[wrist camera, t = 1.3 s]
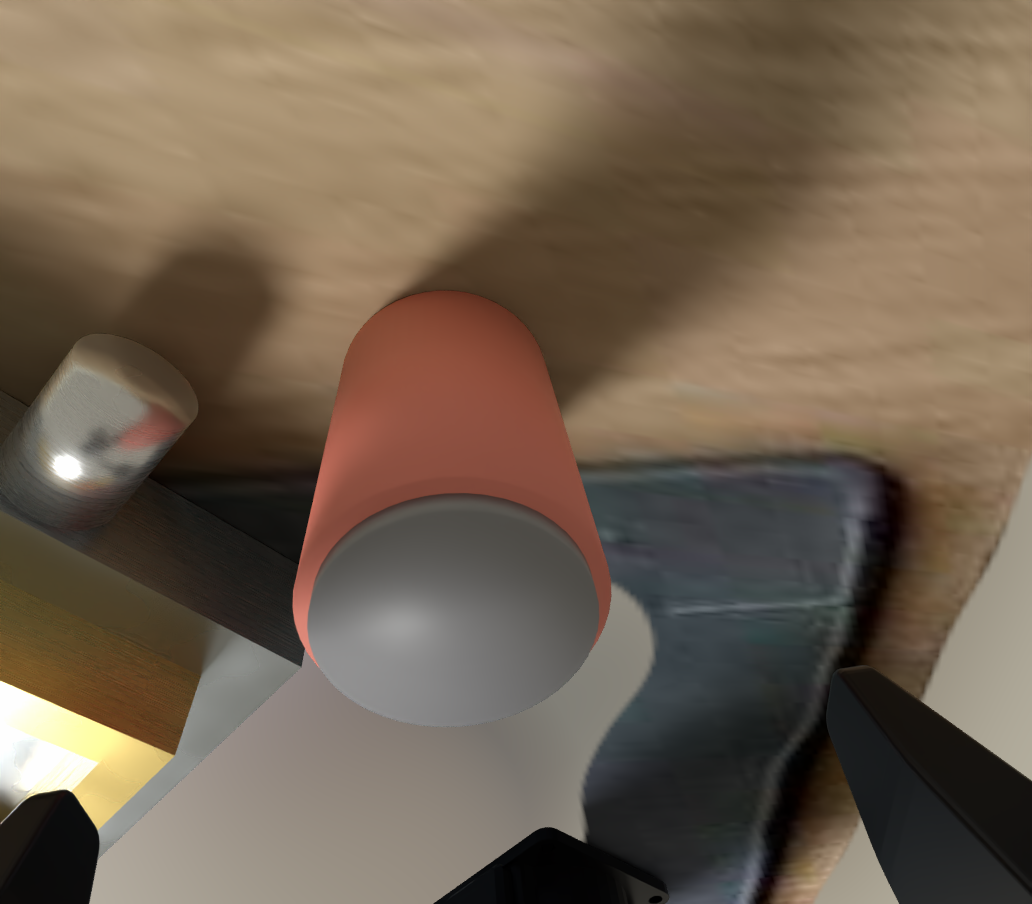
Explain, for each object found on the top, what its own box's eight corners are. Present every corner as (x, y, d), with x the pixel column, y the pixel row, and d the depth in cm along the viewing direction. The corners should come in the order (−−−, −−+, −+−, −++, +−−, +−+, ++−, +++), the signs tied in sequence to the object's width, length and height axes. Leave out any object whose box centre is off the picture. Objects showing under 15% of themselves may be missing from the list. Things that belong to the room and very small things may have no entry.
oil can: (589, 379, 17) (682, 609, 11) (455, 507, 19) (468, 775, 12) (434, 245, 15) (438, 428, 9) (298, 398, 17) (220, 650, 10)
